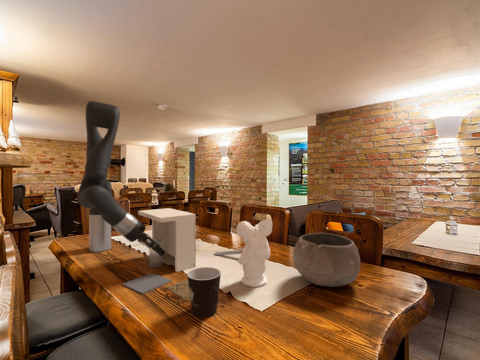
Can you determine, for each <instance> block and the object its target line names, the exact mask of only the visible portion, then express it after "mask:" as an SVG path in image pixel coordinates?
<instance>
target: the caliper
mask: <svg viewBox="0 0 480 360" xmlns="http://www.w3.org/2000/svg"><path fill="white" fill-rule="evenodd" d="M243 249H244V248H240V249H237V250H235V249H233V250H224V251H223V250H222V251H216V252H214V253H213V254H212V255H214V256H215V255H216V256H229V255H241V253H242V251H243Z"/></svg>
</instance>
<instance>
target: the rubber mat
mask: <svg viewBox="0 0 480 360" xmlns="http://www.w3.org/2000/svg"><path fill="white" fill-rule="evenodd" d="M172 281H173V280H172V279H170V278H167V277H164V276H162V275H158V274H155V273H153V272H150V273H148V274H145V275H143V276H140V277H137V278H134V279H132V280H129V281H126V282H123V283H122V284H121V285H122V286H123V287H126V288H128V289H130V290H132V291H134V292H136V293H139V294H141V295H144V294H146V293H149V292H150V291H153V290H155V289H158V288H160V287H162V286H165V285H167V284H169V283H171V282H172Z"/></svg>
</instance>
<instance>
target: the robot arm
mask: <svg viewBox="0 0 480 360" xmlns="http://www.w3.org/2000/svg"><path fill="white" fill-rule="evenodd" d="M120 113H121V111H120V109H119V107H118V106H117V105H113V104H109V103H104V102H99V101H96V100H95V101H94V100H90V101H88V102H87V103H86V106H85V126H86V152H85V154H86V156H85V157H86V159H85V165H84V166H85V168H84V174H83V176H82V177H83V178H82V179H81V182H80V185H79V189H78V192H77V202H78V205H80V206H81V207H83V208H84V209H88V214H89V215H88V219H89V220H88V221H89V222H88V224H89V225H88V230H89V232H88V234H89V236H88V239H89V240H88V241H89V243H88V244H89V245H88V247H89V248H88V250H89V252H92V253H98V252H104V251H109V250H111V249H112V228H113V229H114V230H115V231H116V232H117V233H118V234H120V235H121V236H122V237H124V238H125V239H126V240H127V241H129V242H131V243H134V242H136V241H137V242H138V243H139V244H141V245H143V246H145V247H146V248H148V249H149V248H151V249H153V251H156V252H157V253H158V254H159V255H161V256H164V255H166V254H165V251H164V250H163V249H162V248H161V247H160V245H158V244H157V243H156V242H155V240H153V239H152V236H150V235H149V234H148V233H146V232H145V231H146V226H145V224H143V223H142V222H141V221H140V220H138V218H136V217H135V216H134V215H133V214H132V213H130V212H128V211H127V210H126V209H125V208H123V207H122V205H120V204H119V203H118V202H117V200H116V198H115V197H114V196H113V195H112V189H113V188H112V183H111V181H110V180H107V178H108V174H109V168H110V166H111V163H112V150H113V147H114V144H115V140H116V136H117V132H118V128H119V123H120V116H121V115H120ZM98 128H100V129H106V130H107V131H106V134H105V135H104V137H102V135H101V134H100V132H99V129H98ZM154 245H156V246H155V247H154V248H153V246H154Z"/></svg>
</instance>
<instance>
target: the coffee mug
mask: <svg viewBox="0 0 480 360" xmlns="http://www.w3.org/2000/svg"><path fill="white" fill-rule="evenodd" d="M186 275H187V279H188V283H189V292H190V299H189V300H190V308H191V314H192V316H193V317H195V318H198V319H208V318H210V317H211V318H212V317H213V316H215V315H216V313H217V309H218V301H219V294H220V285H221V277H222V272H221V270H220V269H219V268H215V267H211V266H210V267H209V266H203V267H197V268H196V267H195V268H194V269H191V270H189V271H188V272H187V273H186Z"/></svg>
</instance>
